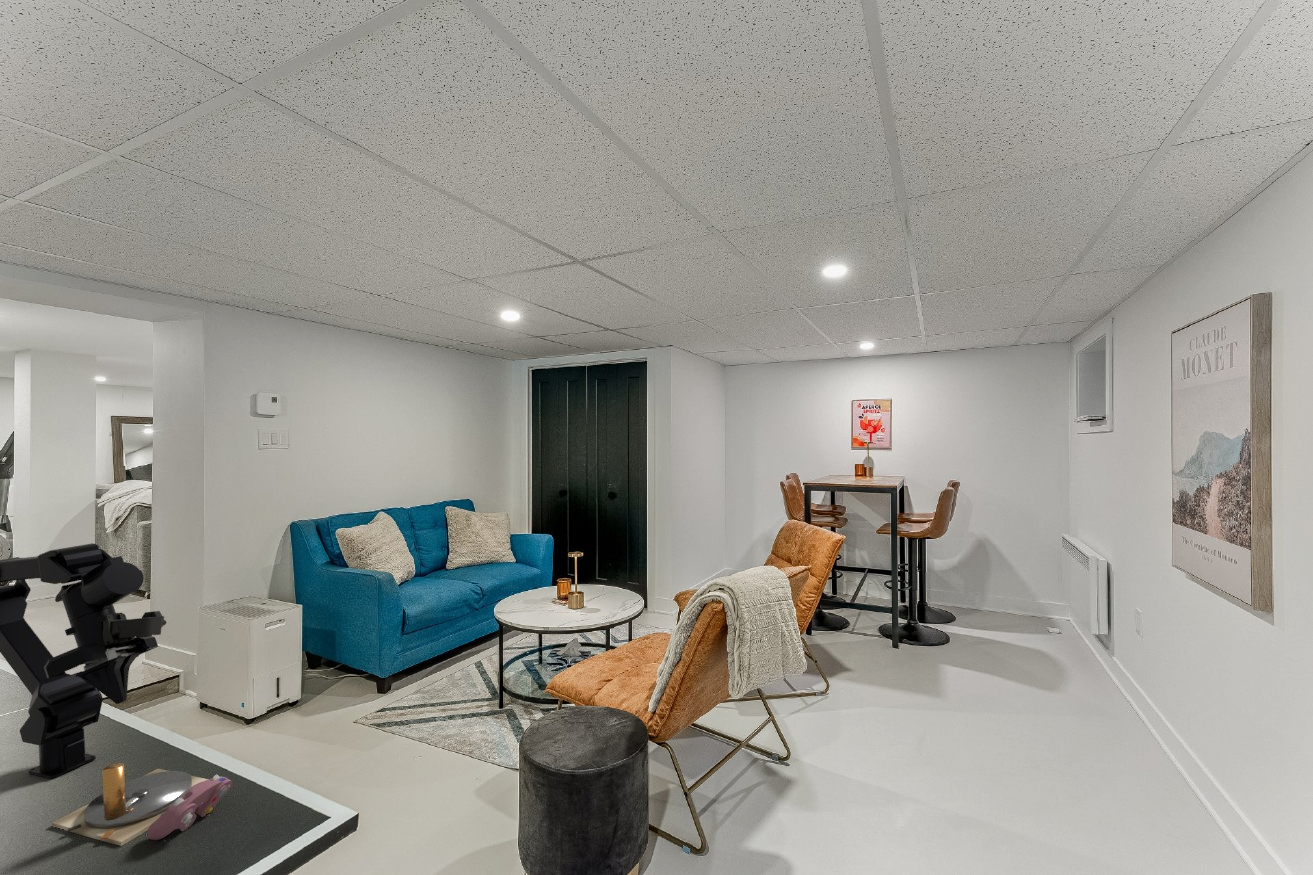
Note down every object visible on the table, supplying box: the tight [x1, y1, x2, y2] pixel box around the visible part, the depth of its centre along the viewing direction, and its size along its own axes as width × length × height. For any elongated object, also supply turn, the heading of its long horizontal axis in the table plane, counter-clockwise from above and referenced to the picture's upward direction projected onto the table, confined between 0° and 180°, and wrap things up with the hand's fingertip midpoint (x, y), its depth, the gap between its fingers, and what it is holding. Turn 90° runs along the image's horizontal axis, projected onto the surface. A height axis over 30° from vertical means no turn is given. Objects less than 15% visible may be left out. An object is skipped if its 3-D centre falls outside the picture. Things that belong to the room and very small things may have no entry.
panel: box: [51, 768, 209, 847], centre depth 94 cm, size 16×15×1 cm
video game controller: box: [147, 774, 233, 841], centre depth 91 cm, size 10×5×7 cm, turn 169°
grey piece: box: [84, 762, 192, 828], centre depth 95 cm, size 13×13×8 cm
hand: (121, 702), depth 101 cm, fingers closed
